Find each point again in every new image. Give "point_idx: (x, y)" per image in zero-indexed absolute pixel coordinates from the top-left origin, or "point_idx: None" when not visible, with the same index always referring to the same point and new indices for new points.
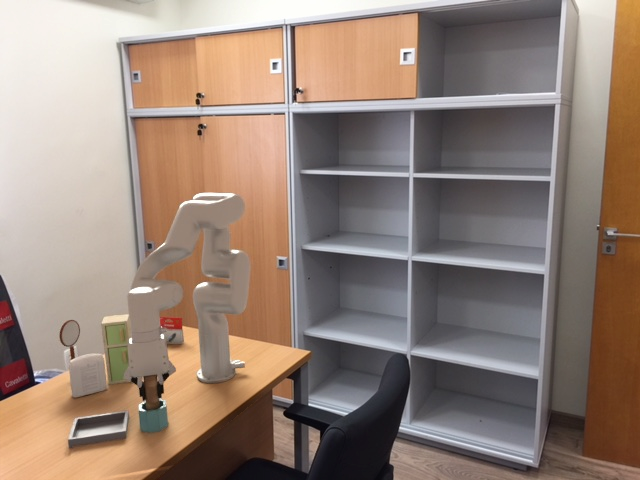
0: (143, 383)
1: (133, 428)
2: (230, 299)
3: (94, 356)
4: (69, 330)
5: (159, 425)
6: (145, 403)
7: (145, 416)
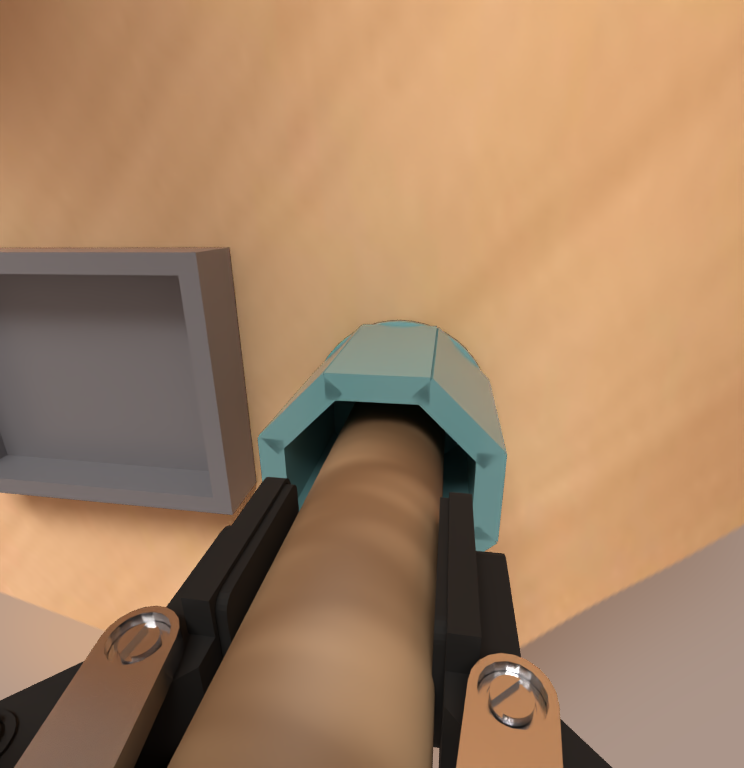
0: (211, 671)
1: (275, 379)
2: None
3: None
4: None
5: None
6: (312, 418)
7: None
